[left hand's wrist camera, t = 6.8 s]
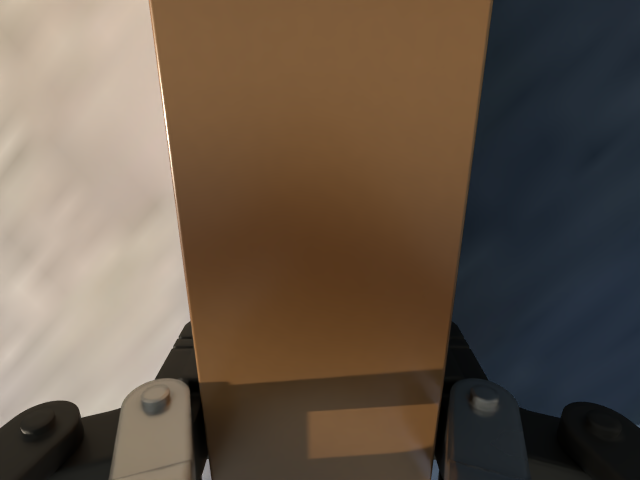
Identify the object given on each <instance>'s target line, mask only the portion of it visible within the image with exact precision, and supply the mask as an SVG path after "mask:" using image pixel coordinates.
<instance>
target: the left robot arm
mask: <svg viewBox="0 0 640 480" xmlns="http://www.w3.org/2000/svg"><path fill="white" fill-rule="evenodd" d="M207 459H209V456H208V449H207V441H206V433H205V426H204V418H203V410H202V403H201V395H200V388H199V380H198V372H197V365H196V357H195V349H194V342H193V334H192V327H191V321H190V322H189V323H187V324H186V325H185V326H184V328H183V330H182V332H181V334H180V335H179V339H177V341H176V343H175V344H174V346H173V349H172V350H171V351H170V353H169V355H168V357H167V359H166V360H165V362H164V364H163V366H162V367H161V369H160V371H159V373H158V375H157V376H156V378H155V380H153V381H150V382H147V383H145V384H143V385H141V386H139V387H137V388H136V389H134V390H133V391H132V392H131V393H130V394H128V396H127V397H126V398H125V399H124V401H123V403H122V406H121V408H119V409H116V410H112V411H109V412H104V413H100V414H96V415H91V416H87V417H83V418H81V415H80V412H79V409H78V407H77V406H76V405H75V404H74V403H72V402H69V401H51V402H46V403H43V404H39V405H37V406H34V407H32V408H29V409H27V410H25V411H24V412H22V413H20V414H19V415H17V416H16V417H14V418H13V419H12V420H10V421H9V422H8V423H6V424H5V425H4V426H3V427H1V428H0V480H202V473H203V470H204V466H205V463H206V460H207ZM434 460H436V461H437V464H438V467H439V475H438V480H640V428H639V427H637V426H636V425H635V424H634V423H632V422H631V421H630V420H628V419H627V418H626V417H624V416H623V415H621V414H619V413H618V412H616V411H614V410H612V409H609V408H607V407H604V406H601V405H598V404H594V403H589V402H574V403H571V404H568V405H567V406H565V408H564V409H563V411H562V415H561V418H558V417H553V416H549V415H545V414H540V413H536V412H532V411H528V410H525V409H522V408H520V407H519V406H518V403H517V401H516V399H515V398H514V397H513V396H512V394H510V393H509V392H508V391H507V390H506V389H504V388H503V387H501V386H499V385H497V384H495V383H493V382H490V381H488V379H487V377H486V375H485V374H484V372H483V370H482V368H481V366H480V365H479V363H478V361H477V359H476V358H475V356H474V354H473V352H472V351H471V349H469V345H468V344H467V342H466V340H465V339H464V337H463V335H462V333H461V331H460V330H459V328H458V326H457V325H456V324H454V323H453V322H452V321H451V329H450V337H449V344H448V352H447V360H446V367H445V375H444V383H443V390H442V398H441V406H440V413H439V421H438V429H437V436H436V444H435V452H434Z"/></svg>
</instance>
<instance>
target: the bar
mask: <svg viewBox="0 0 640 480" xmlns="http://www.w3.org/2000/svg"><path fill="white" fill-rule="evenodd" d="M492 6H493V0H149V7H150V14H151V22H152V29H153V37H154V45H155V52H156V60H157V68H158V75H159V83H160V90H161V98H162V106H163V113H164V121H165V129H166V136H167V144H168V151H169V159H170V167H171V174H172V182H173V189H174V197H175V205H176V212H177V220H178V228H179V235H180V243H181V250H182V258H183V266H184V273H185V281H186V289H187V296H188V304H189V311H190V319H191V327H192V334H193V342H194V349H195V357H196V365H197V372H198V380H199V388H200V395H201V403H202V410H203V418H204V426H205V433H206V441H207V449H208V456H209V464H210V471H211V479H212V480H431V475H432V467H433V460H434V452H435V444H436V436H437V429H438V421H439V413H440V406H441V398H442V390H443V383H444V375H445V367H446V360H447V352H448V344H449V337H450V329H451V321H452V314H453V306H454V298H455V291H456V283H457V275H458V268H459V260H460V252H461V244H462V237H463V229H464V221H465V214H466V206H467V198H468V191H469V183H470V175H471V168H472V160H473V152H474V145H475V137H476V129H477V122H478V114H479V106H480V99H481V91H482V83H483V76H484V68H485V60H486V53H487V45H488V37H489V29H490V22H491V14H492Z"/></svg>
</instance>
